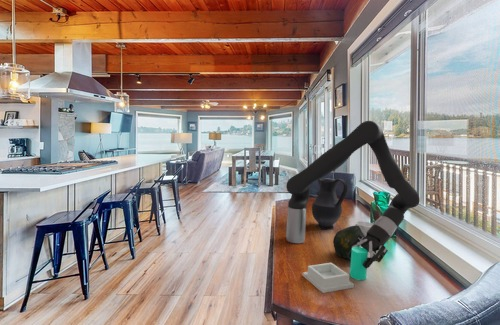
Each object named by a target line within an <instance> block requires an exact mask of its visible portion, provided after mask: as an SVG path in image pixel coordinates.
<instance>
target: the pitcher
mask: <svg viewBox="0 0 500 325" xmlns="http://www.w3.org/2000/svg"><path fill="white" fill-rule="evenodd" d="M317 182H318V184H319V190H318V193H317V195H316V198H315V200H314V201H313V202H312V204H311V215H312V216H313V219H314V220H315V222H317V225H316V227H317V228H318V229H319V228H320V229H322V230H333V229H334V224H336V223H337V222H338V221H339V219H340V218H341V216H342V212H343V206H342V204H343V201H344V199H345V197H346V195H347V192H348V184H347V182H346V180H344V179H343V178H336V179H333V178H322V179H321V178H320V179H317ZM339 182H341V183H342V184H343V190H342V193H341V195H340V196H339V198H338V197H337V194H336V191H337V190H336V189H337V185H338V184H339Z"/></svg>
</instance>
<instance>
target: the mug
mask: <svg viewBox="0 0 500 325" xmlns="http://www.w3.org/2000/svg"><path fill="white" fill-rule="evenodd" d="M373 224H374V223H373V222H369V221H361V220H360V221H358V220H357V221H356V222H355V225H354V226H359V227H360V229H361V231H362V232H363V234H364V235H365V236H366V235H367V231H368V230H369V229H370V228H371V226H372V225H373Z"/></svg>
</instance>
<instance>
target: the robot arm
mask: <svg viewBox="0 0 500 325" xmlns="http://www.w3.org/2000/svg"><path fill="white" fill-rule="evenodd" d="M365 145H368V146H369V148H370V149H371V150H372V151H373V153H374V155H375V157H376V161H377V162H378V163H377V164H378V166H379V169H380V172H381V174H382V176H383V178H384V181H385V182H386V184H387V186H388V187H389V188H390V189H394V190H395V191H396V193H397V194H396V195H395V196H394V197H393V198H392V199H391V202H390V203H389V204H388V207H387V208H386V210H384V212H383V213H382V214H381V215H380V217H378V218H377V219H376V220H375V221H374V223H373V225H372V226H371V228H370V229H369V230H368V231H367V235H366V236H365V237H362V236H361V235H360V234H359V235H358V236H357V237H356V238H355V239H354V240H353V241H352V242H351V243H350V245H351V247H352V248H353V247H363V248H365V249H366V250H367V251H368V254H369V257H368V258H367V259H366V261H365V262H364V263H363V266H364V268H366V269H369V268H370V267H371V266H372V265H373V263H374V262H377V263H381V261H382V260H383V259H384V258H385V256H386V254H387V253H388V251H389V249H387V246H386V245H385V244H386V243H388V241H389V240H390V239H391V237H392V236H393V234H394V233H395V232H396V230H397V228H398V227H399V226H400V225H401V223H402V222H403V221H404V219H405V215H406V214H405V213H406V212H407V211H408V210H409V209H412V208H416V207H417V206H419V205H420V196H419V193H418V191H417V190H416V189H415V187H414V186H413V185H412V184H411V183H410V181H408V180H407V178H406V176H405V175H404V173H403V171H402V169H401V167H400V166H399V164H398V162H397V160H396V159H395V157H394V155H393V153H392V152H391V150H390V147H389V144H388V142H387V139H386V136H385V134H384V130H383V127H382V126H381V125H380V124H379V123H378V122H375V121H373V120H365V121H363V122H361V123H360V124H359V125H357V126H356V127H355V128H354V130H352V131H351V132H350V133H349V134H348V135H347V136H346V137H345V138H343V139H342V140H340V141H339V142H337V143H336V144H334V145H333V146H332V147H330V148H329V149H328V150H326V151H325V152H324V153H322V154H321V155H320V156H318V157H317V158H316V159H315V160H314V161H313V162H311V163H310V164H309V165H308V166H307V167H305V168H304V169H303V170H301V171H299V172H298V173H297V174H295V175H293V176H291V177H290V178H289V179H288V180H287V182H286V185H285V186H286V187H285V188H286V191H287V192H288V193H289V194H290V195H291V197H290V199H289V200H288V203H287V220H286V230H285V231H286V233H285V237H286V241H287V242H289V243H292V244H302V243H305V241H306V240H305V239H306V238H305V237H306V223H307V205H308V202H309V199H310V198H309V197H310V185H311V184H312V183H314V182H316V181H318V179H321V178H322V179H323V178H324V177H326V176H327V175H329V174H331V173H332V172H334V171H335V170H337V169H339V167H341V166H342V165H344V164H345V163H346V162H347V161H348V159H349V158H350V157H351V156H352V155H353V154H354V153H355V152H356V151H357V150H359V149H360V148H362V147H364V146H365ZM355 243H356V244H355ZM354 244H355V245H354ZM361 245H362V246H361ZM351 251H352V249H351V250H350V252H349V253H348V254H347V256H348V258H347V259H350V260H351Z"/></svg>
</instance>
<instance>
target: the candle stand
mask: <svg viewBox="0 0 500 325" xmlns="http://www.w3.org/2000/svg"><path fill="white" fill-rule="evenodd" d="M302 276H303V277H304V278H305V279H306V280H307V281H308V283H311V284H312V285H313V286H314V287H315V288H316V289H317V290H318V291H319V292H321V293H322V294H326V293H331V292H335V291H337V292H338V291H342V290H348V289H353V288H355V284H354V283H353V282H352V281H351V280H350V273H348V272H346V271H345V270H343V269H342V268H340V267H339V266H337V265H336V264H334V263H333V262H327V263H326V262H325V263H321V264H320V263H319V264H312V265H311V264H310V265H308V266H307V271H304V272H302Z"/></svg>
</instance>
